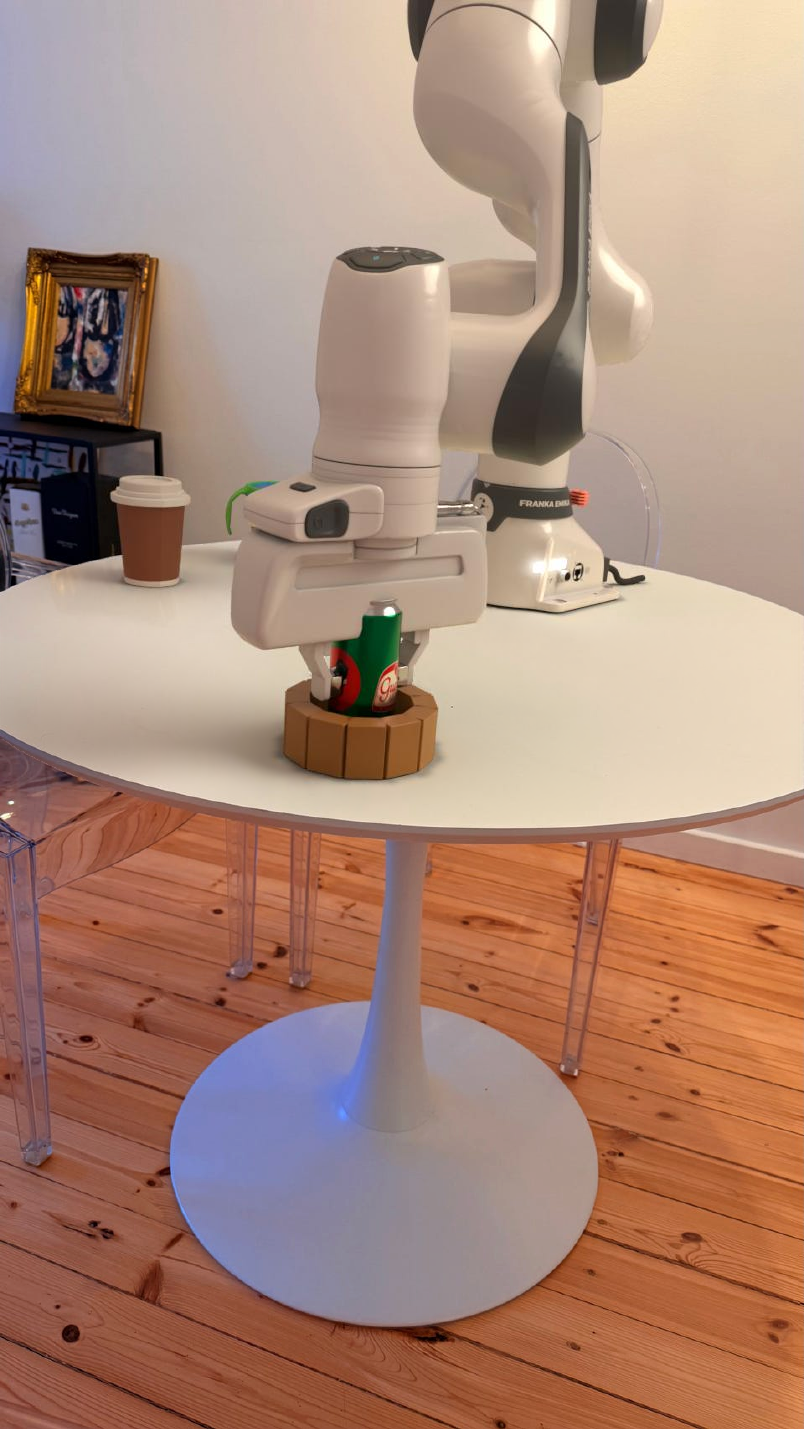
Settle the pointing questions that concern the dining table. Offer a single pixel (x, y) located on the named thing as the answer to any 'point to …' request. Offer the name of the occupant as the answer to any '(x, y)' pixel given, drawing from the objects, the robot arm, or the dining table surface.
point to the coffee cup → (151, 528)
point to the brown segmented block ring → (360, 736)
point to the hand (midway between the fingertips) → (362, 691)
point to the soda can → (369, 664)
